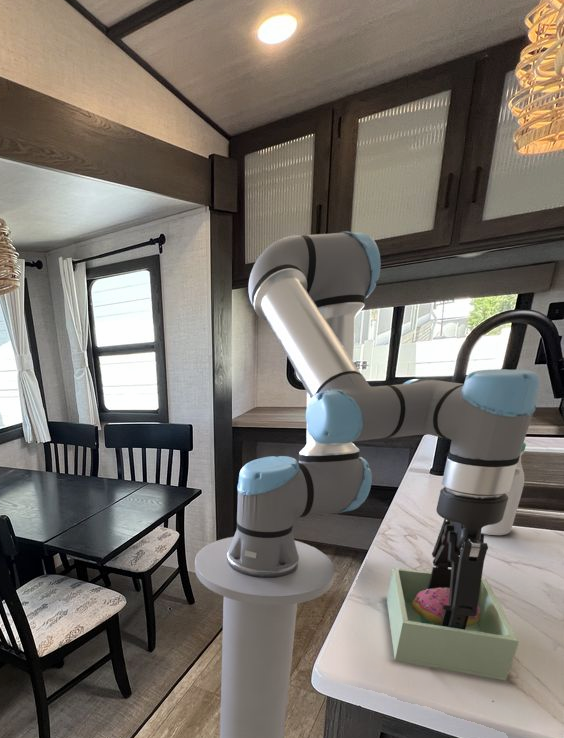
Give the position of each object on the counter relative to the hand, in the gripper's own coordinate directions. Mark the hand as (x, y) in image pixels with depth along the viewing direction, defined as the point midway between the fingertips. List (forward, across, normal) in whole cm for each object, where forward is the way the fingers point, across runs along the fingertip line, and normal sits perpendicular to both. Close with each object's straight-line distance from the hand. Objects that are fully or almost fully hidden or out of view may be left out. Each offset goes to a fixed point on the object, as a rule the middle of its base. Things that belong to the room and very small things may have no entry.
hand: (440, 623), depth 72 cm
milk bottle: (+2, +48, -16) cm, 51 cm away
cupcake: (+2, 0, 0) cm, 2 cm away
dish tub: (+2, 0, 0) cm, 2 cm away
